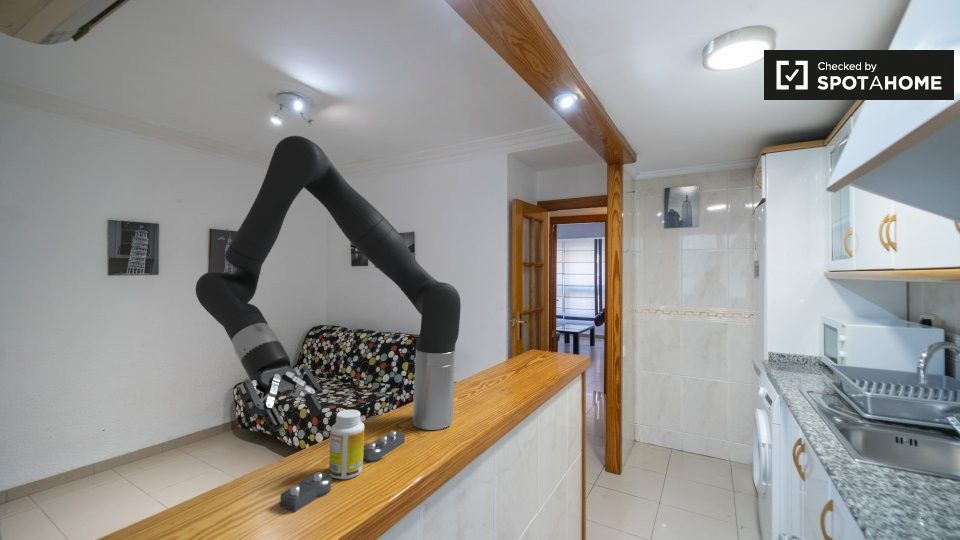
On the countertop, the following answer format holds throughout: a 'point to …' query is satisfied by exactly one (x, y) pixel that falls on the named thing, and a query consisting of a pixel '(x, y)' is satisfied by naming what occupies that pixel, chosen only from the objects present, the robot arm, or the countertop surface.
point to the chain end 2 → (382, 446)
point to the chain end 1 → (306, 491)
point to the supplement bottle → (346, 445)
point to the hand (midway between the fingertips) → (299, 421)
